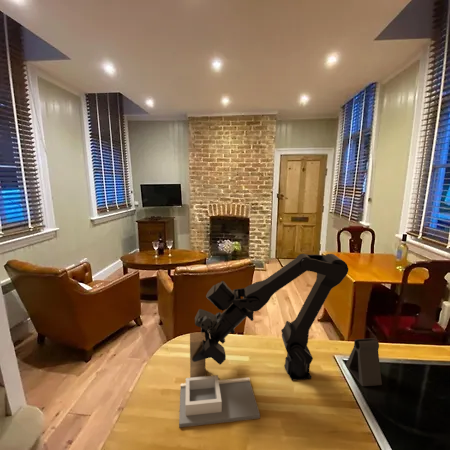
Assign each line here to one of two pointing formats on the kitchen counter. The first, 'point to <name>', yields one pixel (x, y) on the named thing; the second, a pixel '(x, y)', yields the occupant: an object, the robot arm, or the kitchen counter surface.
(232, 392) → the grey socket base
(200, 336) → the bar
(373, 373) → the phone stand
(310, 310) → the robot arm
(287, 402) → the kitchen counter surface
